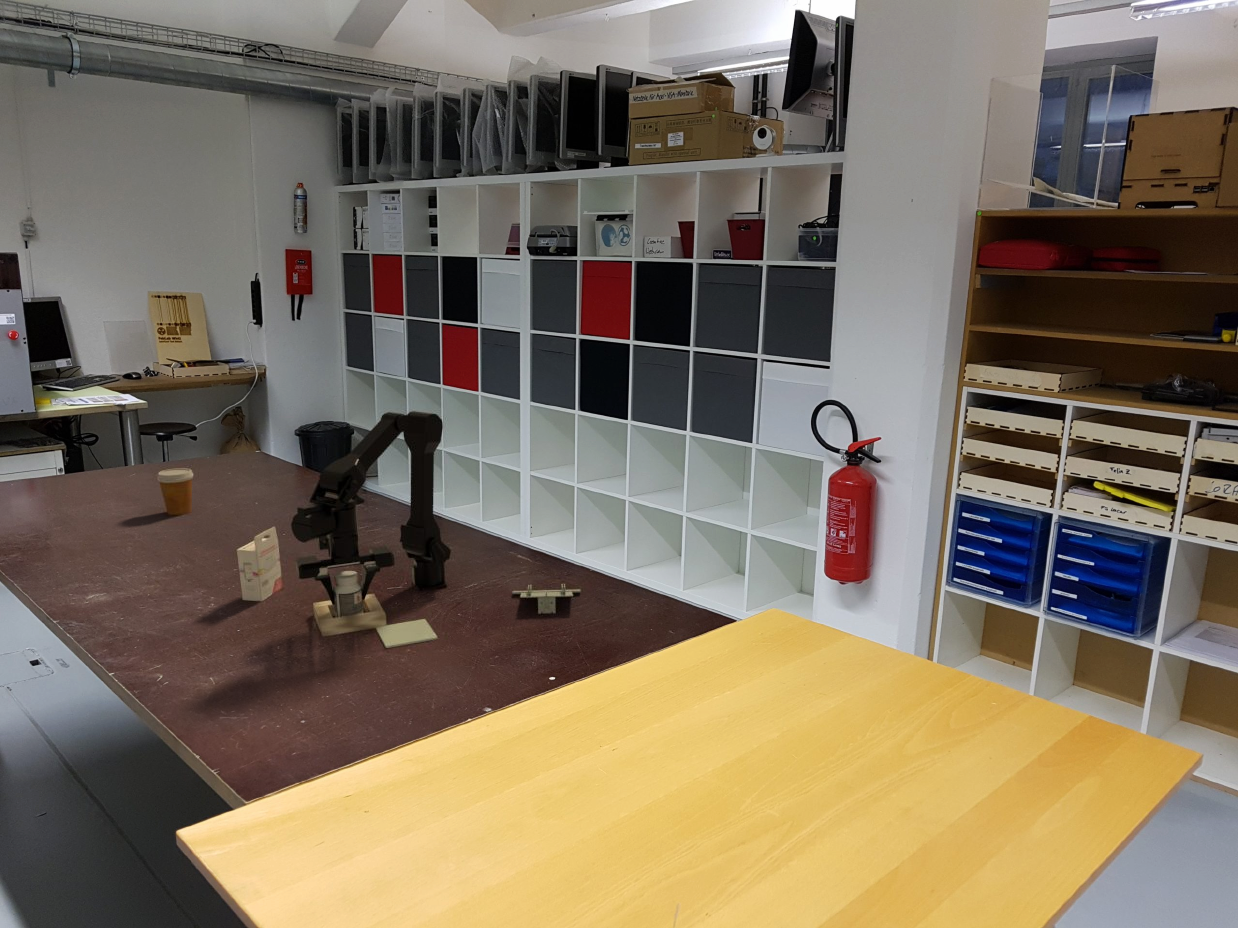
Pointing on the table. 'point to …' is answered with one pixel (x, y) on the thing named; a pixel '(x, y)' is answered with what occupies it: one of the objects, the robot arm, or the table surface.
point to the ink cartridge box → (260, 567)
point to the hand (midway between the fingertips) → (348, 601)
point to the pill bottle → (347, 594)
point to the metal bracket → (546, 597)
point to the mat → (406, 633)
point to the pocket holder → (349, 617)
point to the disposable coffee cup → (176, 490)
